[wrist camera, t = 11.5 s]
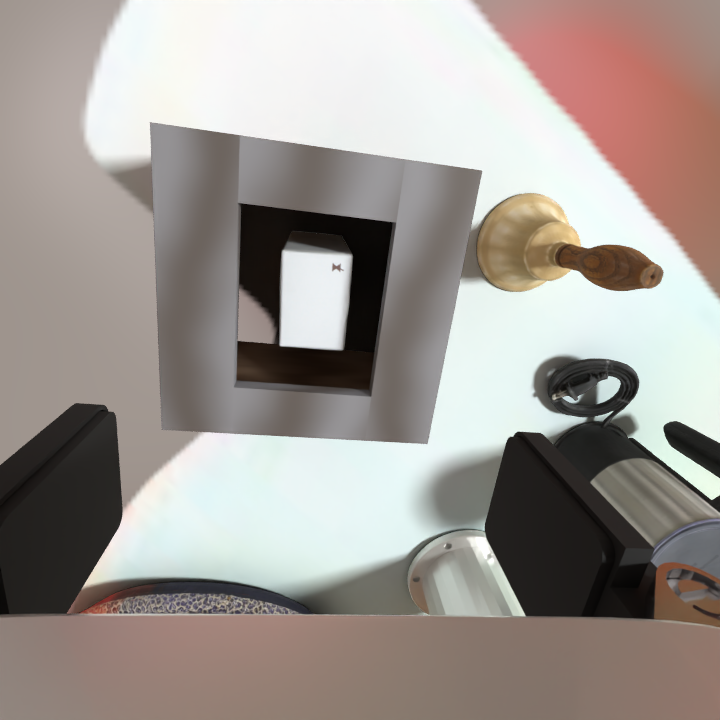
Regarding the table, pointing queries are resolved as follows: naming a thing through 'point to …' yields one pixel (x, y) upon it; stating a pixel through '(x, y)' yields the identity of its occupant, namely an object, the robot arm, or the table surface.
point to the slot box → (291, 364)
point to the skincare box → (314, 291)
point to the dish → (196, 600)
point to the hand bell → (552, 250)
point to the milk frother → (641, 469)
